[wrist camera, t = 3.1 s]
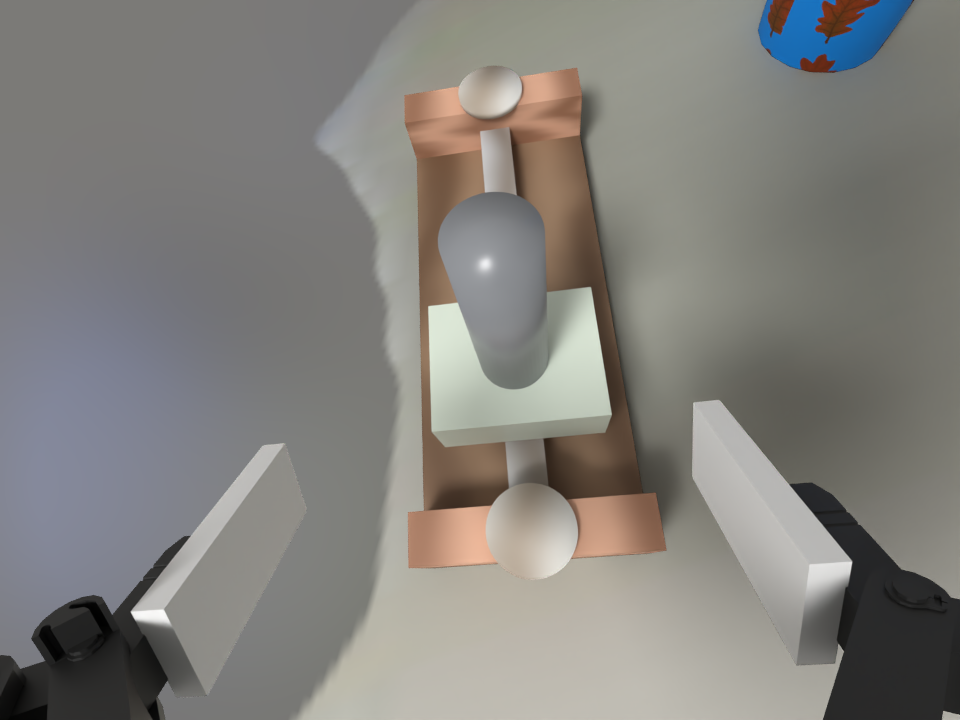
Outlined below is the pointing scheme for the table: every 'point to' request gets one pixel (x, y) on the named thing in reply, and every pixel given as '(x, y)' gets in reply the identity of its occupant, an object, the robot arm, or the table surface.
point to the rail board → (569, 265)
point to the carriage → (510, 334)
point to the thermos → (828, 31)
